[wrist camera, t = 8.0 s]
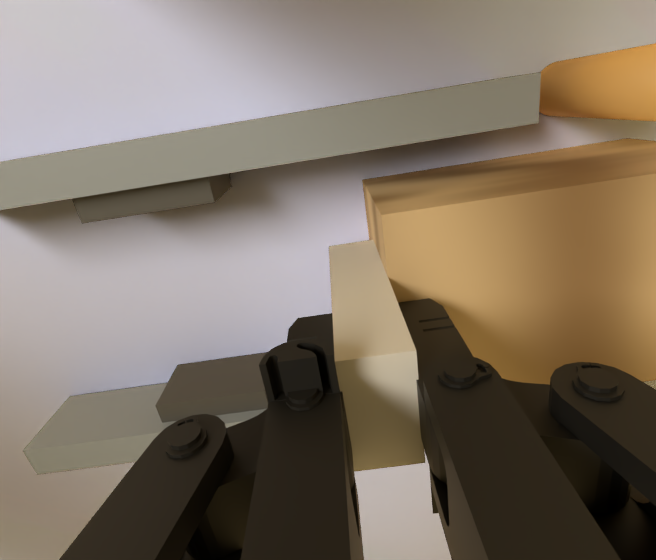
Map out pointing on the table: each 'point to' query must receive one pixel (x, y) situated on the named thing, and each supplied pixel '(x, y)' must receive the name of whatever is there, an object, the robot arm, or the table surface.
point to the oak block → (531, 254)
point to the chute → (264, 151)
